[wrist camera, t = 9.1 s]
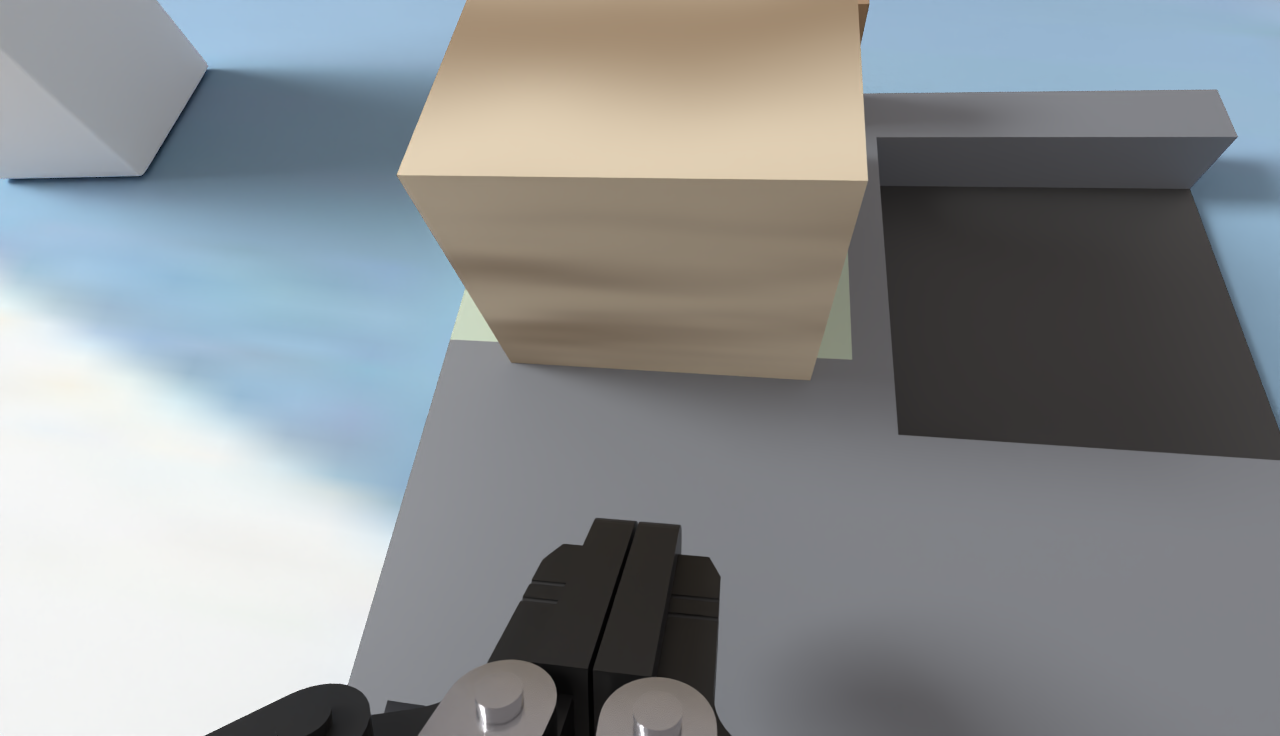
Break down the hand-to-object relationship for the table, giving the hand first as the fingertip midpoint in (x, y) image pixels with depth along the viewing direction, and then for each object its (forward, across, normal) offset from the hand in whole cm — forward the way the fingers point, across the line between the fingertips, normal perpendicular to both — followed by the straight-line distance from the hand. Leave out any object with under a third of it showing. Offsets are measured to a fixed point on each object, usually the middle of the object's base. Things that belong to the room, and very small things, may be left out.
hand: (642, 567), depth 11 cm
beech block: (+9, -1, +4) cm, 10 cm away
